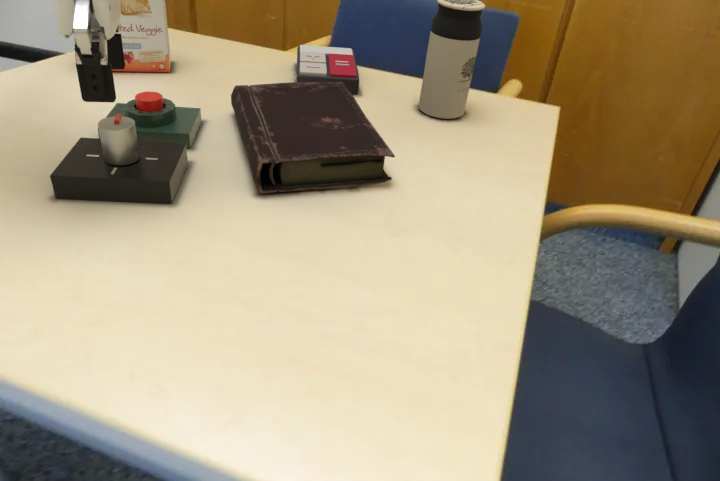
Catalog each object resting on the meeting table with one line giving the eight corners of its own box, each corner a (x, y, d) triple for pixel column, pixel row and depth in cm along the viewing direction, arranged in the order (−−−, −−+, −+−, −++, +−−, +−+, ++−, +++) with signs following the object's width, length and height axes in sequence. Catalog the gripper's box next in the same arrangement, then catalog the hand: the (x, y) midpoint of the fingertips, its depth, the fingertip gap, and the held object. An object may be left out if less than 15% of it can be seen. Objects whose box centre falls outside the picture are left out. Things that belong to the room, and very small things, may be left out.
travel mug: (408, 106, 97) (425, -4, 86) (441, 99, 101) (460, -6, 91) (440, 123, 92) (462, 9, 82) (473, 115, 96) (497, 6, 86)
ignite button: (133, 112, 76) (131, 100, 75) (140, 102, 79) (138, 90, 78) (160, 114, 76) (159, 101, 75) (166, 104, 79) (165, 92, 78)
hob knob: (138, 165, 65) (132, 127, 63) (101, 166, 65) (94, 127, 62) (142, 150, 69) (136, 113, 66) (107, 150, 68) (100, 113, 65)
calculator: (296, 71, 95) (297, 41, 107) (296, 95, 98) (296, 63, 110) (360, 75, 97) (354, 45, 108) (357, 98, 99) (352, 66, 111)
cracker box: (86, 73, 96) (59, -64, 84) (90, 61, 100) (66, -70, 88) (171, 73, 99) (157, -58, 87) (172, 62, 104) (159, -64, 92)
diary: (254, 196, 68) (254, 159, 65) (231, 114, 87) (230, 83, 84) (396, 185, 74) (401, 151, 71) (345, 110, 93) (347, 81, 90)
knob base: (55, 198, 64) (49, 174, 62) (85, 158, 72) (80, 136, 70) (171, 203, 65) (169, 180, 63) (188, 163, 73) (185, 141, 71)
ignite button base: (100, 143, 75) (94, 115, 73) (119, 116, 83) (114, 90, 80) (190, 148, 77) (188, 121, 74) (201, 121, 84) (199, 96, 82)
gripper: (51, -110, 57) (80, 56, 67) (8, -88, 44) (52, 115, 54) (129, -101, 59) (146, 58, 69) (111, -78, 46) (135, 116, 56)
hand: (105, 83), depth 61 cm, fingers open, 9 cm apart
